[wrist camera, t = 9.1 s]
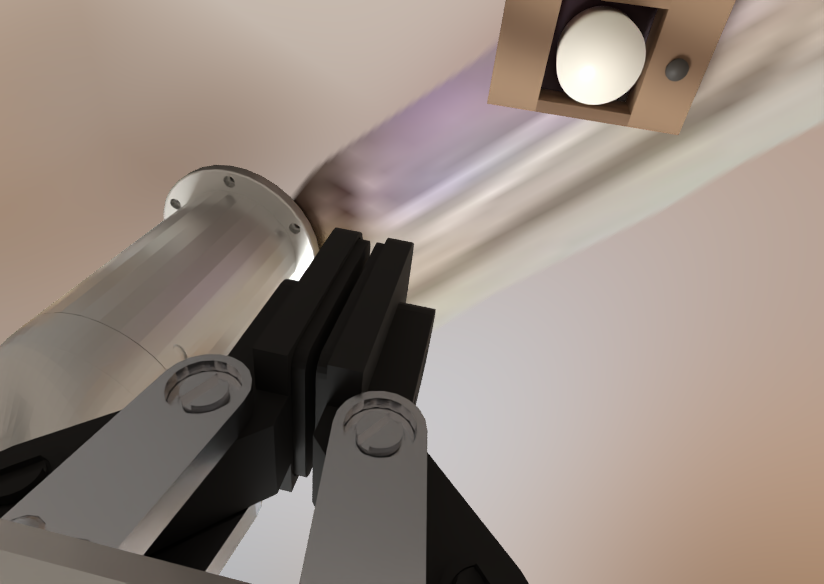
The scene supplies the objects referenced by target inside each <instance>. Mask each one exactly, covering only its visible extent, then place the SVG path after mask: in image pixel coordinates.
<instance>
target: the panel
mask: <svg viewBox="0 0 824 584" xmlns="http://www.w3.org/2000/svg"><path fill="white" fill-rule="evenodd" d="M603 1H610V2H618V3H625V4H633V5H640V6H648V7H655V8H658V9H657V12H656V15H655V18H654V21H653V24H652V27H651V30H650V32H649V35H648V38H647V41H646V44H645V47H646V57H645V63H644V66H643V69H642V72H641V74H640V76H639V78H638V79H637V81H636V82H635V84H634V85H633V86H632V87H631V88H630V90H629V93H628V96H627V99H626V102H624V101H618V100H613V101H611V102H608V103H604V104H599V105H589V104H584V103H581V102H578V101H576V100H574V99H572V98H571V97H570V96H569V95H568V94H567V93H566V92H561V91H555V90H548V89H542V88H541V85H542V81H543V77H544V73H545V68H546V64H547V60H548V56H549V52H550V48H551V44H552V39H553V35H554V31H555V27H556V23H557V19H558V14H559V10H560V6H561V2H562V0H506V2H505V8H504V13H503V19H502V24H501V30H500V35H499V41H498V46H497V52H496V57H495V63H494V68H493V74H492V79H491V85H490V90H489V96H488V101H487V104H493V105H499V106H505V107H512V108H518V109H524V110H530V111H536V112H542V113H548V114H554V115H560V116H566V117H572V118H578V119H584V120H591V121H597V122H603V123H609V124H615V125H621V126H627V127H633V128H639V129H645V130H651V131H657V132H663V133H670V134H676V135H679V132H680V130H681V128H682V125H683V123H684V121H685V118H686V116H687V114H688V111H689V109H690V107H691V104H692V102H693V99H694V97H695V95H696V92H697V90H698V88H699V85H700V83H701V81H702V78H703V76H704V74H705V71H706V69H707V67H708V64H709V62H710V60H711V57H712V55H713V52H714V50H715V48H716V45H717V43H718V41H719V38H720V36H721V34H722V31H723V29H724V27H725V24H726V22H727V20H728V17H729V15H730V13H731V10H732V8H733V5H734V3H735V1H736V0H603Z"/></svg>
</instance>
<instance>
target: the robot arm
mask: <svg viewBox="0 0 824 584" xmlns="http://www.w3.org/2000/svg"><path fill="white" fill-rule="evenodd" d="M413 247H414V243H412V242H407V241H402V240H397V239H392V238H388V239H387V240H386V242H385V244H382V243H376V245H375V247H374V249H373V251H372V253H371V255H370V241H367V240H363V237H362V233H361V232H357V231H352V230H347V229H341V228H335V229H334V230H333V231H332V233H331V234H330V236H329V237H328V238H327V240H326V241H325V243H324V244H323V246H322V247H321V249H320V250H319V248H318V244H317V239H316V236H315V234H314V231H313V229H312V227H311V224H310V223H309V221H308V219H307V218H306V216H305V215H304V213H303V212H302V210H301V209H300V208H299V206H298V205H297V204H296V203H295V202H294V201H293V200H292V199H291V197H290V196H288V195H287V194H286V193H285V192H284V191H283V190H281V189H280V188H279V187H278V186H277V185H275V184H273V183H272V182H270V181H269V180H267V179H266V178H264V177H262V176H260V175H258V174H255V173H253V172H251V171H248V170H246V169H242V168H238V167H234V166H224V165H213V166H207V167H202V168H200V169H198V170H195V171H193V172H191V173H189V174H188V175H186V176H185V177H183V178H182V179H181V180H179V181H178V182H177V183H176V184H175V185H174V187H173V188H172V189H171V190H170V192H169V194H168V196H167V198H166V202H165V207H164V221H162V222H161V223H160V224H158V225H157V226H156V227H154V228H153V229H152V230H150V231H149V232H148V233H147V234H145V235H144V236H142V237H141V238H140V239H138V240H137V241H136V242H135V243H133V244H132V245H130V246H129V247H128V248H126V249H125V250H124V251H122V252H121V253H120V254H118V255H117V256H116V257H114V258H113V259H112V260H110V261H109V262H108V263H106V264H105V265H104V266H102V267H101V268H100V269H98V270H97V271H96V272H94V273H93V274H92V275H90V276H89V277H88V278H86V279H85V280H83V281H82V282H81V283H80V284H78V285H77V286H75V287H74V288H73V289H71V290H70V291H69V292H67V293H66V294H65V295H64V296H62V297H61V298H59V299H58V300H57V301H55V302H54V303H53V304H51V305H50V306H49V307H47V308H46V309H45V310H43V311H42V312H41V313H39V314H38V315H37V316H35V317H34V318H33V319H31V320H30V321H29V322H28V323H26V324H25V325H23V326H22V327H21V328H19V329H18V330H17V331H16V332H15V333H13V334H12V335H11V336H10V337H8V338H7V339H6V340H5V341H4V342H3V343H2V344H1V345H0V584H250V583H246V582H243V581H239V580H235V579H231V578H227V577H223V576H219V573H220V572H221V570H222V569H223V567H224V566H225V564H226V563H227V561H228V559H229V558H230V556H231V555H232V554H233V552H234V550H235V549H236V547H237V546H238V544H239V543H240V541H241V540H242V538H243V537H244V535H245V534H246V532H247V531H248V529H249V527H250V526H251V524H252V523H253V521H254V520H255V518H256V517H257V515H258V512H259V510H260V508H261V506H262V500H264V499H267V498H269V497H271V496H273V495H275V494H277V493H278V491H279V489H281V490H285V491H289V492H292V490H293V488H294V485H295V483H296V481H297V479H298V476H304V477H307V476H308V475H309V474H310V471H311V469H312V467H313V494H312V495H313V496H312V497H313V498H312V502H313V504H314V506H315V510H314V515H313V520H312V524H311V529H310V534H309V539H308V544H307V548H306V553H305V558H304V564H303V568H302V573H301V578H300V582H299V584H528V582H527V580H526V578H525V577H524V575H523V573H522V572H521V570H520V569H519V568H518V566H517V565H516V564H515V563H514V561H513V560H512V559H511V558H510V556H509V555H508V554H507V553H506V551H505V550H504V549H503V547H502V546H501V545H500V544H499V542H498V541H497V540H496V539H495V537H494V536H493V535H492V534H491V533H490V531H489V530H488V529H487V527H486V526H485V525H484V523H483V522H482V521H481V520H480V519H479V517H478V516H477V515H476V513H475V512H474V511H473V510H472V508H471V507H470V506H469V505H468V503H467V502H466V501H465V499H464V498H463V497H462V496H461V494H460V493H459V492H458V491H457V489H456V488H455V487H454V486H453V484H452V483H451V482H450V480H449V479H448V478H447V477H446V475H445V474H444V473H443V472H442V470H441V469H440V468H439V467H438V465H437V464H436V463H435V462H434V460H433V459H432V458H431V456H430V455H429V454H428V453H427V428H426V427H427V426H426V421H425V418H424V417H423V415H422V414H421V411H420V410H419V408H418V407H416V401H417V397H418V393H419V388H420V385H421V380H422V376H423V372H424V367H425V363H426V358H427V353H428V348H429V343H430V338H431V333H432V328H433V322H434V317H435V310H436V309H431V308H427V307H422V306H417V305H412V304H407V303H406V298H407V291H408V284H409V277H410V270H411V263H412V256H413Z"/></svg>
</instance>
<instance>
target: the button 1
mask: <svg viewBox="0 0 824 584" xmlns="http://www.w3.org/2000/svg"><path fill="white" fill-rule="evenodd" d="M645 57H646V47H645V42H644V38H643V36H642V33H641V32H640V30H639V29H638V27H637V26H636V25H635V24H634V23H633V22H632V20H631V19H630V18H629V17H628V16H627V15H626V14H625V13H624V12H623V11H621V10H619V9H617V8H614V7H611V6H595V7H591V8H589V9H586V10H584V11H582V12H580V13H579V14H577V15H576V16H575V17H574V18H572V19H571V20H570V22H569V23H568V24H567V25H566V26H565V28H564V30H563V31H562V33H561V35H560V38H559V40H558V44H557V50H556V66H557V76H558V80H559V82H560V85H561V87H562V88H563V90H564V91H565V92H566V93H567V94H568V95H569V96H570V97H571V98H572V99H574V100H576V101H578V102H581V103H584V104H589V105H599V104H604V103H608V102H611V101H613V100H615V99H617V98H619V97H620V96H622V95H623V94H625V93H626V92H627V91H628V90H629V89H630V88H631V87H632V86H633V85H634V84H635V82H636V81H637V79H638V78H639V76H640V74H641V72H642V69H643V66H644V63H645Z"/></svg>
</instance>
